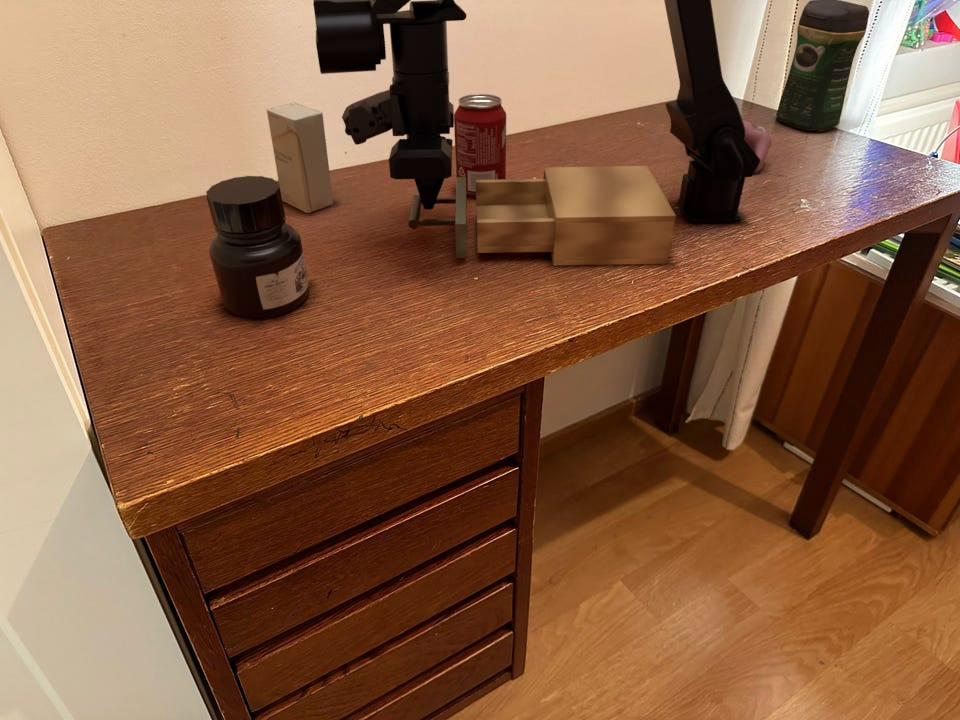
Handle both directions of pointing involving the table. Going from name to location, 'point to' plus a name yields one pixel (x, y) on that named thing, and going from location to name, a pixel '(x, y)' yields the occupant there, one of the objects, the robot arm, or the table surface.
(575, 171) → the drawer unit
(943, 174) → the table surface
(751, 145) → the video game controller
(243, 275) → the ink bottle
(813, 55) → the coffee jar
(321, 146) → the cosmetic box
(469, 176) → the soda can
